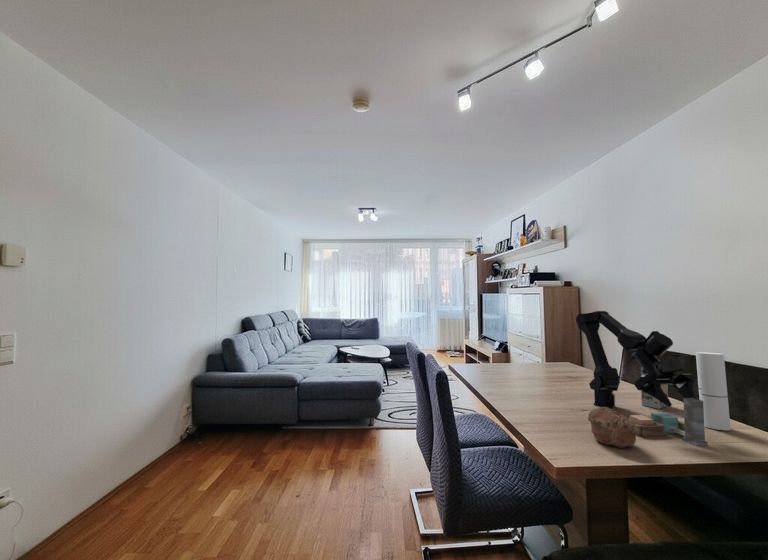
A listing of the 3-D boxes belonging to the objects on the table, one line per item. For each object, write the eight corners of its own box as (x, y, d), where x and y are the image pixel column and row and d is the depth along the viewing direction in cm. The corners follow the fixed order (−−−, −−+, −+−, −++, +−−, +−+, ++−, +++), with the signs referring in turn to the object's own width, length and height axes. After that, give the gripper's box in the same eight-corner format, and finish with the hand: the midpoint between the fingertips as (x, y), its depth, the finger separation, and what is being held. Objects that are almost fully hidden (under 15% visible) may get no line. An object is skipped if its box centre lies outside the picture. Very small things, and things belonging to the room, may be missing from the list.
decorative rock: (581, 434, 109) (580, 403, 110) (614, 433, 110) (613, 402, 111) (611, 453, 96) (610, 417, 97) (648, 452, 97) (647, 416, 98)
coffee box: (659, 409, 135) (658, 368, 136) (641, 405, 140) (639, 366, 141) (668, 405, 140) (667, 366, 141) (650, 401, 145) (648, 364, 146)
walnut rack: (619, 427, 115) (619, 418, 116) (668, 425, 118) (667, 416, 118) (638, 436, 108) (638, 427, 108) (690, 434, 110) (690, 425, 110)
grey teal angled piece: (651, 427, 116) (649, 389, 116) (664, 427, 116) (662, 388, 117) (694, 445, 101) (692, 401, 102) (709, 445, 102) (707, 401, 103)
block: (629, 428, 115) (629, 415, 115) (642, 428, 115) (641, 415, 115) (641, 434, 110) (640, 420, 110) (653, 433, 111) (653, 419, 111)
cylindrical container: (722, 424, 118) (716, 352, 121) (735, 431, 112) (728, 354, 114) (697, 422, 121) (691, 351, 123) (708, 428, 114) (702, 353, 117)
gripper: (640, 350, 113) (673, 392, 101) (690, 349, 115) (728, 391, 103) (622, 369, 120) (651, 411, 108) (669, 368, 122) (703, 409, 110)
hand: (683, 405), depth 107 cm, fingers open, 9 cm apart
